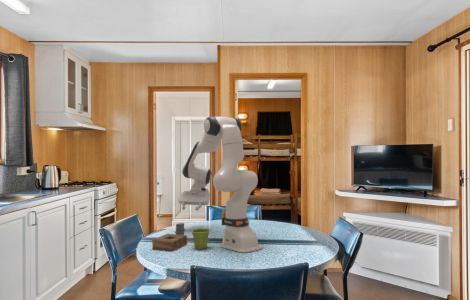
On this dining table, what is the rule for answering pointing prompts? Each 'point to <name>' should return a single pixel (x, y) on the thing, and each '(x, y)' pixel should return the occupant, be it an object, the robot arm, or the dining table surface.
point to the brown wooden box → (169, 242)
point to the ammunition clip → (223, 216)
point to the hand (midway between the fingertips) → (189, 209)
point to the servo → (180, 229)
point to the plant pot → (200, 238)
